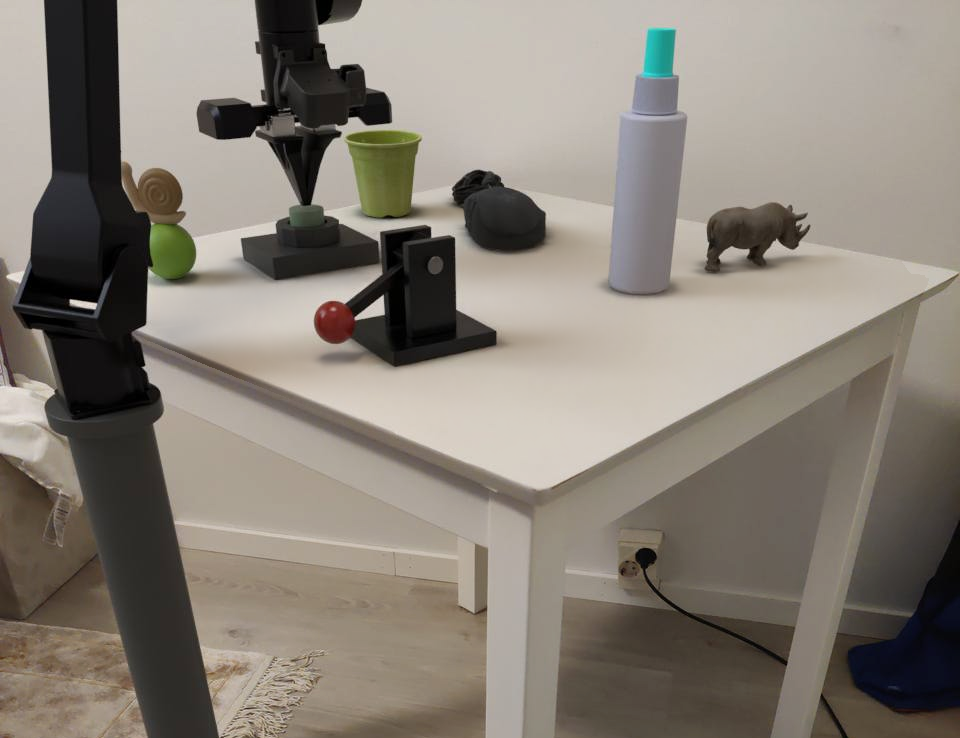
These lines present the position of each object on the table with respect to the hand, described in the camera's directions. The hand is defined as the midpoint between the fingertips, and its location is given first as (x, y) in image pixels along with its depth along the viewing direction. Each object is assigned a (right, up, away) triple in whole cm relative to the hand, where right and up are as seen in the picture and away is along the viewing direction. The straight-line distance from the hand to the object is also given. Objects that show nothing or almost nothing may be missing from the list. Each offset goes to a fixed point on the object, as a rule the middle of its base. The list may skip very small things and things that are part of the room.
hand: (305, 205), depth 103 cm
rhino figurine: (+48, -5, +3) cm, 48 cm away
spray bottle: (+34, -10, -4) cm, 36 cm away
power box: (0, -4, +3) cm, 6 cm away
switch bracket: (+13, -19, -17) cm, 29 cm away
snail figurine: (-14, -8, -1) cm, 16 cm away
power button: (0, -2, +1) cm, 2 cm away
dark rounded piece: (+20, +6, +18) cm, 28 cm away
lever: (+10, -18, -20) cm, 29 cm away
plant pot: (+7, +8, +21) cm, 23 cm away
